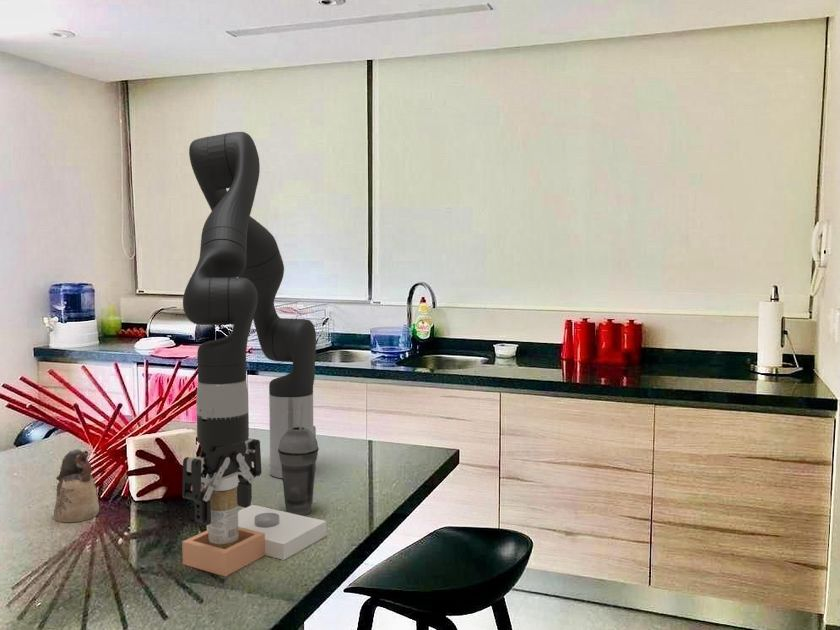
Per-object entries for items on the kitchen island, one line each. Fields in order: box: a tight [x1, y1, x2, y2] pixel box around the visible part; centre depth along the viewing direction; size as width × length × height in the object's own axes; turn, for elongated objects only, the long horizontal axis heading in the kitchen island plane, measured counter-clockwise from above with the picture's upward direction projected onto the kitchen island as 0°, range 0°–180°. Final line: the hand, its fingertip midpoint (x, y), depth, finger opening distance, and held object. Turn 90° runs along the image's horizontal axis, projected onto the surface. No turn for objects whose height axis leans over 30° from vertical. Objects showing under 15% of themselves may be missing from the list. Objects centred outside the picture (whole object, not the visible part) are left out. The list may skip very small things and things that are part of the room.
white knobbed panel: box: [181, 504, 327, 577], centre depth 113 cm, size 20×16×4 cm
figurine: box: [53, 448, 100, 523], centre depth 126 cm, size 7×7×12 cm
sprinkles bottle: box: [206, 472, 239, 549], centre depth 108 cm, size 5×5×13 cm
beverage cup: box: [278, 404, 320, 516], centre depth 129 cm, size 7×7×20 cm
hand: (224, 515), depth 108 cm, fingers open, 8 cm apart
